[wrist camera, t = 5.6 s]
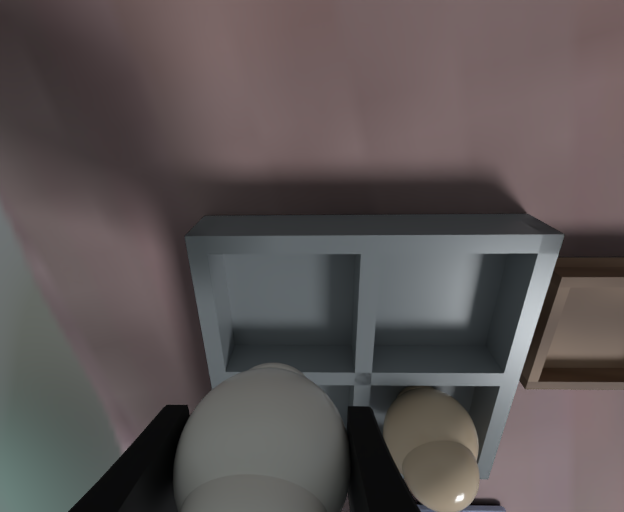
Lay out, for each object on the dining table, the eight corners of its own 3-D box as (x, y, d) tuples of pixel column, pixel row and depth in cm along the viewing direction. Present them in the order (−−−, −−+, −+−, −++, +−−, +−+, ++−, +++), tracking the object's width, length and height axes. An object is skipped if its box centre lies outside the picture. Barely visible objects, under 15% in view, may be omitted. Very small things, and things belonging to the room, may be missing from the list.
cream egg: (343, 439, 12) (360, 689, 7) (214, 438, 12) (139, 684, 7) (347, 334, 10) (375, 571, 5) (194, 333, 10) (72, 566, 5)
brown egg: (451, 428, 21) (495, 539, 15) (374, 427, 21) (392, 537, 16) (464, 369, 19) (519, 472, 14) (379, 368, 19) (402, 471, 14)
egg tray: (469, 438, 22) (487, 479, 19) (237, 435, 22) (227, 476, 20) (527, 213, 16) (564, 234, 13) (204, 215, 16) (184, 236, 14)
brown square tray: (623, 362, 19) (655, 389, 17) (506, 361, 19) (525, 389, 17) (672, 257, 16) (716, 277, 15) (535, 257, 17) (561, 277, 15)
